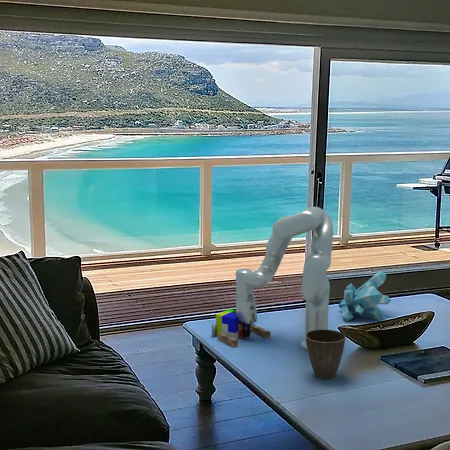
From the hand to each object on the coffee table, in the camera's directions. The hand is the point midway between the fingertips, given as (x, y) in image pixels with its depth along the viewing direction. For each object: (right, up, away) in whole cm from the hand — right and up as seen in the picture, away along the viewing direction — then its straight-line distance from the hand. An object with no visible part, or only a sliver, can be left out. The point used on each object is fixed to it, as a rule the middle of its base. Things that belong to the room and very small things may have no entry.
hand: (246, 336), depth 289 cm
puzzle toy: (-7, 0, +6) cm, 9 cm away
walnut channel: (-1, -1, 0) cm, 1 cm away
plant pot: (+28, -8, -41) cm, 50 cm away
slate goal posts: (-7, 0, +9) cm, 12 cm away
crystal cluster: (+58, +4, +28) cm, 65 cm away
